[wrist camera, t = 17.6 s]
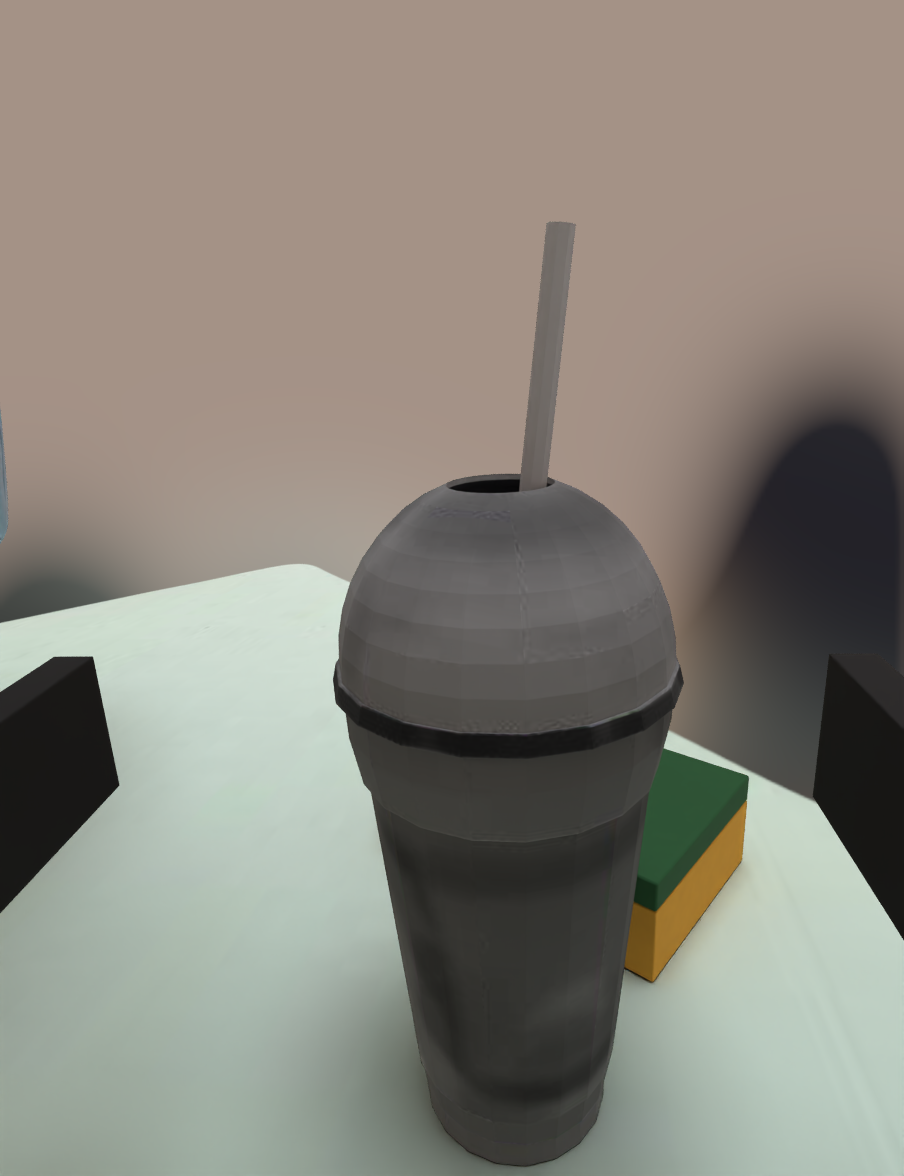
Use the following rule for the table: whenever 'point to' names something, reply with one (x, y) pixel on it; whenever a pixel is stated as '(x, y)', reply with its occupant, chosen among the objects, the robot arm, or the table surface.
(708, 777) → the sponge
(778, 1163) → the table surface
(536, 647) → the beverage cup
